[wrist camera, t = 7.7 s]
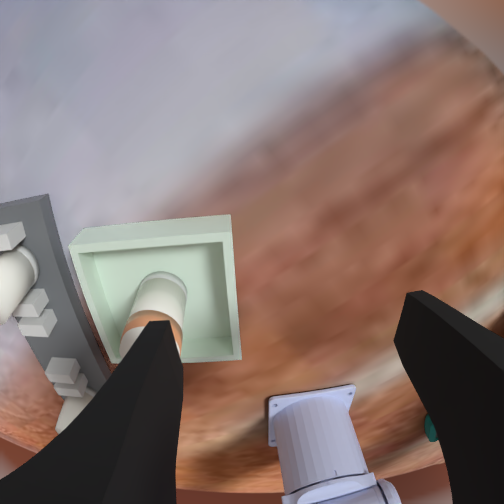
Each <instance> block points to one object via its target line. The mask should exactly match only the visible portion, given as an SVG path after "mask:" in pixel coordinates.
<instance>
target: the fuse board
mask: <svg viewBox="0 0 504 504" xmlns="http://www.w3.org/2000/svg"><path fill="white" fill-rule="evenodd" d="M17 244H22V245H24V246H26V247H27V248H28V249H30V250H31V251H32V253H33V254H34V255H35V257H36V259H37V261H38V263H39V267H40V275H39V278H38V280H37V281H36V282H35V284H34V285H33V286H32V287H31V288H30V290H29V291H28V292H27V294H26V295H25V296H24V298H23V299H22V300H21V302H20V303H19V304H18V306H17V307H16V308H15V310H14V311H13V313H12V315H13V316H14V317H15V318H16V320H17V322H18V324H17V325H18V327H19V329H20V331H21V333H22V335H23V336H25V338H26V339H27V341H28V343H29V345H30V347H31V349H32V350H33V352H34V354H35V356H36V357H37V359H38V361H39V362H40V364H41V366H42V367H43V369H44V371H45V375H46V376H47V378H48V379H49V381H50V382H52V383H53V385H54V389H55V390H56V392H57V393H58V395H60V396H61V397H62V398H63V400H64V401H65V398H66V396H71V397H80V398H83V395H84V392H85V389H86V386H89V387H91V388H92V389H94V390H95V391H96V392H98V391H99V390H100V388H101V387H102V386H103V385H104V383H105V382H106V381H107V380H108V378H109V377H110V376H111V372H110V370H109V368H108V366H107V364H106V362H105V360H104V357H103V355H102V353H101V351H100V349H99V346H98V344H97V342H96V340H95V337H94V335H93V333H92V330H91V328H90V325H89V323H88V320H87V318H86V315H85V313H84V310H83V308H82V305H81V302H80V300H79V297H78V294H77V291H76V289H75V286H74V283H73V280H72V277H71V274H70V271H69V268H68V265H67V262H66V259H65V255H64V252H63V249H62V245H61V242H60V238H59V235H58V231H57V227H56V224H55V220H54V216H53V212H52V207H51V203H50V199H49V194H45V195H39V196H34V197H29V198H25V199H20V200H15V201H11V202H6V203H2V204H0V255H1V254H2V253H3V252H4V251H5V250H12V249H13V248H14V247H15V246H16V245H17Z"/></svg>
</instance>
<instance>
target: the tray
mask: <svg viewBox="0 0 504 504" xmlns="http://www.w3.org/2000/svg"><path fill="white" fill-rule="evenodd" d="M68 247H69V250H70V254H71V257H72V260H73V264H74V267H75V270H76V273H77V276H78V279H79V282H80V285H81V288H82V291H83V294H84V297H85V299H86V302H87V305H88V308H89V310H90V313H91V315H92V318H93V321H94V323H95V326H96V328H97V331H98V333H99V335H100V338H101V340H102V343H103V345H104V347H105V350H106V352H107V354H108V356H109V359H110V361H111V363H117V364H119V363H120V362H121V360H122V358H121V356H120V353H119V347H120V340H121V336H122V333H123V330H124V327H125V324H126V322H127V320H128V318H129V316H130V313H131V310H132V307H133V305H134V302H135V299H136V296H137V293H138V290H139V287H140V284H141V282H142V280H143V279H144V277H146V276H147V275H148V274H150V273H153V272H157V271H164V272H169V273H172V274H174V275H176V276H177V277H179V278H180V279H181V280H182V281H183V282H184V284H185V286H186V288H187V294H188V295H187V302H186V307H185V315H184V323H183V331H182V332H183V340H182V349H181V356H180V359H181V362H182V363H196V362H215V361H230V360H242V355H241V343H240V332H239V319H238V307H237V294H236V281H235V268H234V254H233V240H232V226H231V214H229V215H216V216H203V217H191V218H179V219H168V220H157V221H147V222H136V223H126V224H117V225H108V226H99V227H90V228H83V230H82V231H81V232H80V233H79V234H78V235H77V236H76V237H75V239H74V240H73V241H72V242H71V243H70V244H69V245H68Z"/></svg>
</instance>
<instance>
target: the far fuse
mask: <svg viewBox="0 0 504 504" xmlns="http://www.w3.org/2000/svg"><path fill="white" fill-rule="evenodd" d="M96 393H97V392H96V391H95V390H94V389H92V388H91V387H89V386H86V389H85V392H84V395H83V398H80V397H71V396H66V398H65V401H64V403H63V406H62V409H61V412H60V415H59V418H58V421H57V424H56V427H55V429H56V431H57V433H58V434H60V433H61V432H62V431H63V430H64V429H65V428H66V427H67V426H68V425H69V424H70V423H71V422H72V421H73V420H74V419H75V418H76V417H77V416H78V415H79V413H80V412H81V411H82V410H83V409H84V408H85V407H86V406H87V404H88V403H89V402H90V401H91V400H92V398H93V397H94V396H95V395H96Z"/></svg>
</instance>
